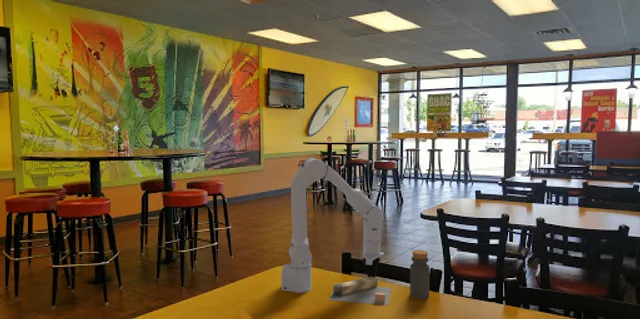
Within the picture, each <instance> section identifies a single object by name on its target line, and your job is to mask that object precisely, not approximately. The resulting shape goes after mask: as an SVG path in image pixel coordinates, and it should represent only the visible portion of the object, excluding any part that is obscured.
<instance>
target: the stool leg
mask: <svg viewBox="0 0 640 319" xmlns="http://www.w3.org/2000/svg"><path fill="white" fill-rule="evenodd" d="M371 287H378V278H376V277H375V278H374V277H372V276H371V277H368V276H366V277H364V278H363V277H361V278H358V279H354V280H350V281H346V282H340V283H336V284H333V288H332V289H333V290H332V293H333V294H334V295H343V294H347V293H351V292H355V291H359V290H363V289H367V288H371Z"/></svg>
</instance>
